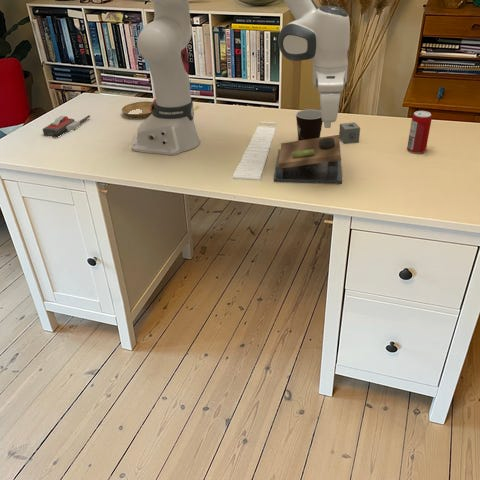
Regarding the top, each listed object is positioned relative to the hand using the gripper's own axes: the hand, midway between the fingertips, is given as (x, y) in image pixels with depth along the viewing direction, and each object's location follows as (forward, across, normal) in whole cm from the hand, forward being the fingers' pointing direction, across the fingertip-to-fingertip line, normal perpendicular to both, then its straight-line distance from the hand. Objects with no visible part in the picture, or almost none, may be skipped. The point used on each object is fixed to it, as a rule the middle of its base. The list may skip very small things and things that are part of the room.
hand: (327, 126), depth 136 cm
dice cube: (+14, -23, +8) cm, 28 cm away
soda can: (+14, -16, +28) cm, 35 cm away
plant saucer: (+13, -46, -69) cm, 84 cm away
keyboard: (+14, -16, -21) cm, 30 cm away
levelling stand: (+14, 0, -5) cm, 14 cm away
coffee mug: (+14, -21, -5) cm, 26 cm away
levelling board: (+8, 0, -4) cm, 9 cm away
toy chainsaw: (+13, -31, -92) cm, 98 cm away
